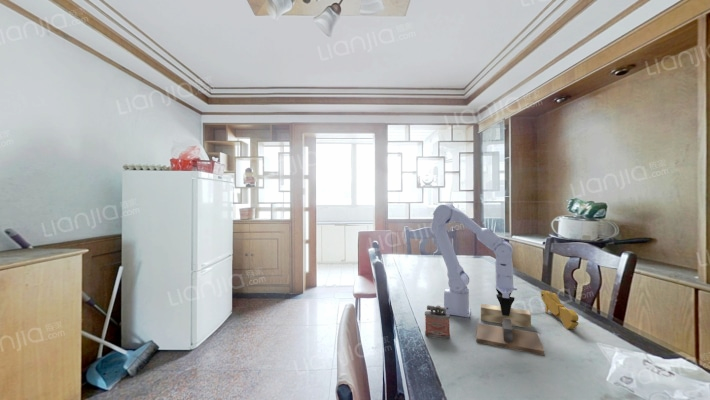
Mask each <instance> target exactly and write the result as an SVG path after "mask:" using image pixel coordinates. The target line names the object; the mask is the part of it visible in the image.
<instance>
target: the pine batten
mask: <svg viewBox="0 0 710 400" xmlns="http://www.w3.org/2000/svg"><path fill="white" fill-rule="evenodd" d="M530 311H531V310H528V309H520V308H514V307H513V308H512V307H511V310H510V314H509V316H505V315H502V312H501V306H500V305H493V304H492V305H491V304H484V303H481V304H480V321H485V322H490V323H496V324H502V325H503V323H502V318H503V319H510V320H511V325H512V326H515V327H521V328H525V329H526V328H527V329H532V315H531V312H530Z"/></svg>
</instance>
